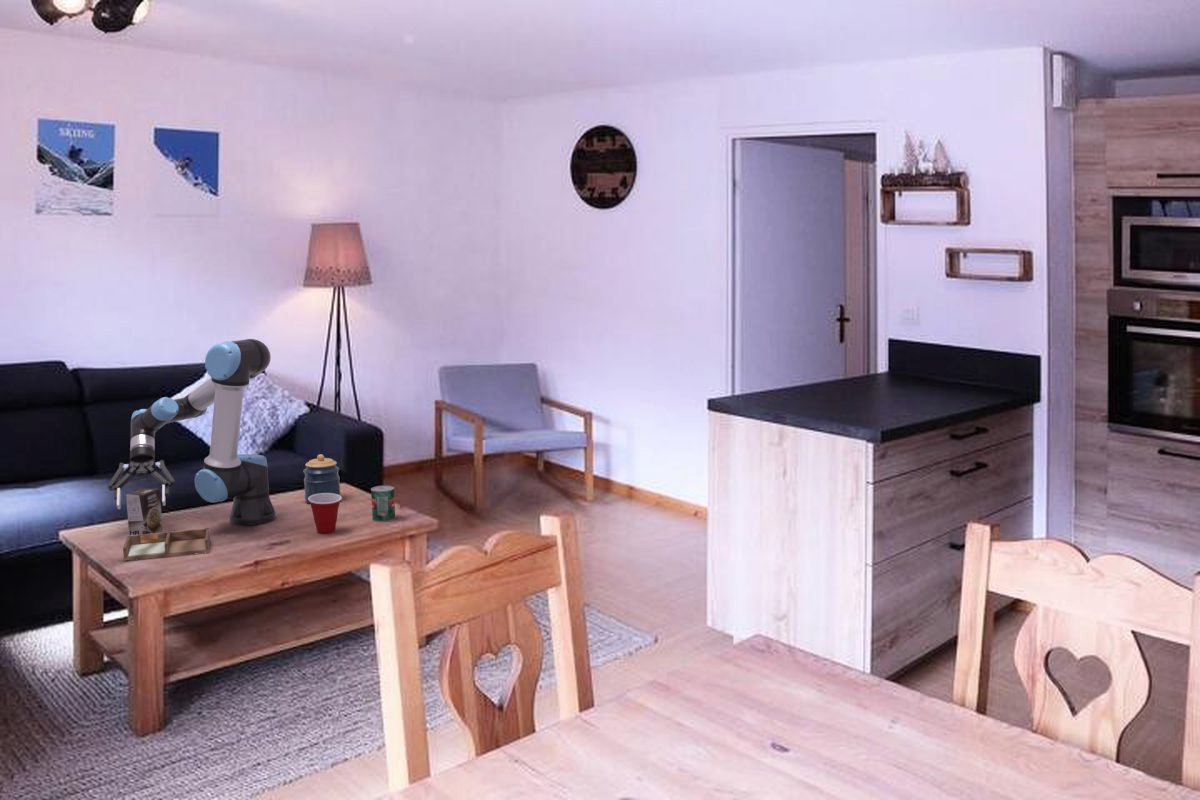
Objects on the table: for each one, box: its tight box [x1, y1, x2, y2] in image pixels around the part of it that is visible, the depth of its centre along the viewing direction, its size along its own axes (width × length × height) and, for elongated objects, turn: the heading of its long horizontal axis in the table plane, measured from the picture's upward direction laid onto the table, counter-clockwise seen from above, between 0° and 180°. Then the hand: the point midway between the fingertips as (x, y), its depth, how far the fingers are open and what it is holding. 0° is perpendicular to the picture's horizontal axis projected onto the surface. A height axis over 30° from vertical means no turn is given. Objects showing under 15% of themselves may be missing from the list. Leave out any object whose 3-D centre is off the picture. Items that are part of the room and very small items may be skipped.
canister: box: [302, 453, 342, 505], centre depth 378 cm, size 13×13×18 cm
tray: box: [122, 527, 211, 562], centre depth 318 cm, size 24×14×4 cm, turn 109°
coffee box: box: [125, 488, 164, 536], centre depth 330 cm, size 9×6×16 cm
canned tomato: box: [370, 485, 396, 523], centre depth 352 cm, size 8×8×11 cm
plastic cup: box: [308, 493, 343, 535], centre depth 337 cm, size 11×11×12 cm
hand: (141, 505), depth 332 cm, fingers open, 13 cm apart
